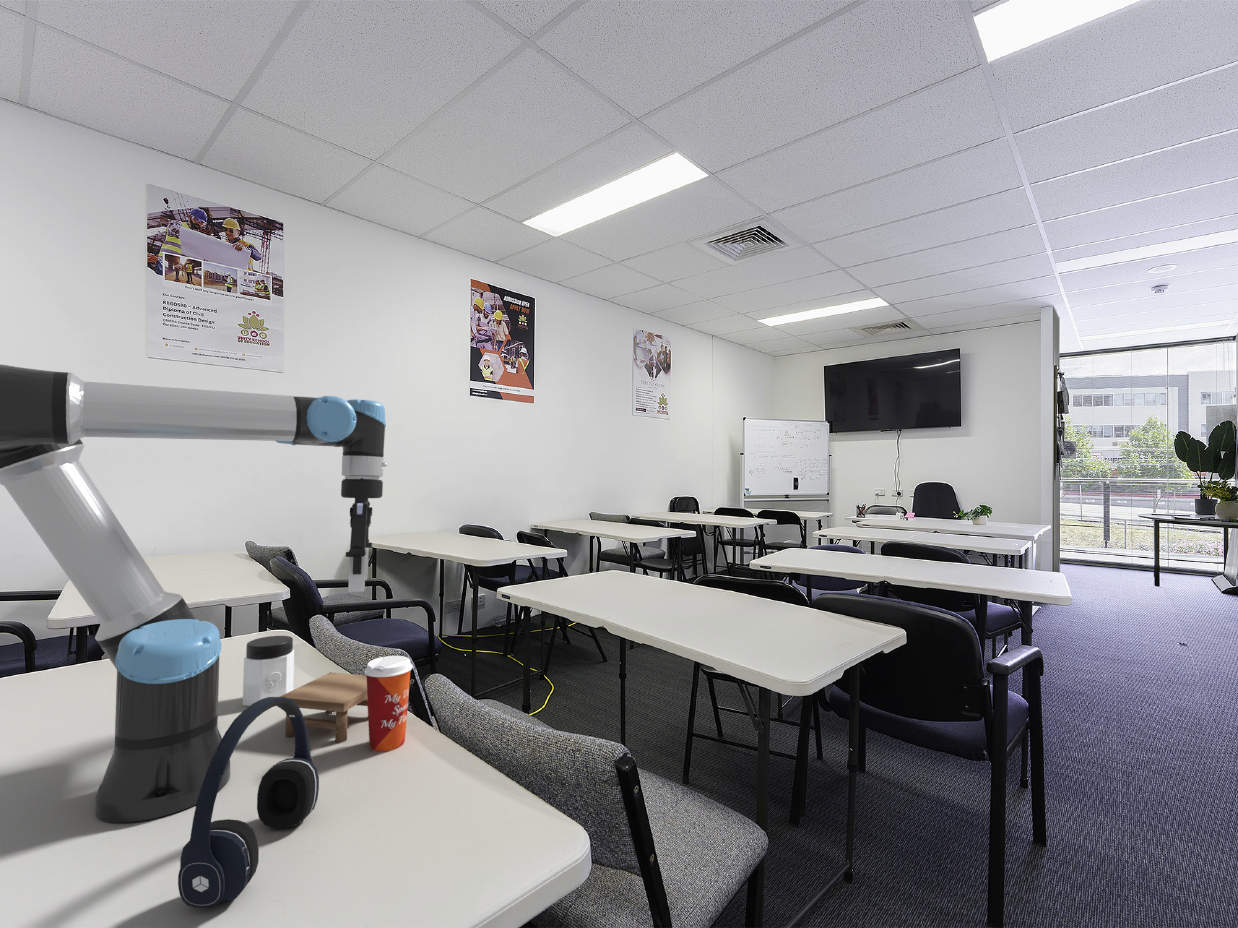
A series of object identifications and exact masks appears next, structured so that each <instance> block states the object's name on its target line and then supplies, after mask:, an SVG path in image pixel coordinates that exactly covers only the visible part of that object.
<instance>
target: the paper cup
mask: <svg viewBox="0 0 1238 928" xmlns="http://www.w3.org/2000/svg"><path fill="white" fill-rule="evenodd" d="M413 667H414V666H413V664H412V663H411V659H410V658H409V657H406V656H403V655H388V656H381V657H377V658H374V659H372V660H370V661H369V662H367V665H366V668H365V670H364V672H363V673H364V675H367V701H368V706H367V721H368V742H369V748H370V750H372V751H374V752H381V753H382V752H389V751H393V750H396V749H399V748H400V747H402V746H403V745H404V744H405V741H406V731H407V720H408V708H409V692H410V681H411V672H412V671H411V670H412V669H413Z"/></svg>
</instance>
